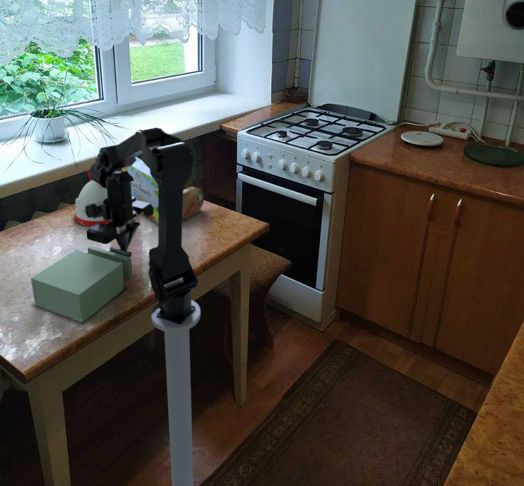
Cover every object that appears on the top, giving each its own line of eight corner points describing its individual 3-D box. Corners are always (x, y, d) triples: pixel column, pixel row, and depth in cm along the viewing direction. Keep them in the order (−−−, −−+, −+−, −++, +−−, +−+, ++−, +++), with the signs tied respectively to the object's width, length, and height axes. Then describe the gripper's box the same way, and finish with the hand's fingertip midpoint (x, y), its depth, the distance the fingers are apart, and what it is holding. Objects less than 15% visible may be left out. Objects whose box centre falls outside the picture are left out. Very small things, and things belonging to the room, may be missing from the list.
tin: (172, 226, 146) (171, 200, 143) (164, 223, 148) (163, 197, 145) (204, 208, 158) (204, 184, 155) (197, 206, 160) (197, 182, 157)
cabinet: (79, 274, 122) (76, 249, 119) (123, 289, 117) (121, 263, 114) (35, 304, 110) (30, 277, 108) (82, 322, 105) (78, 295, 103)
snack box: (123, 202, 160) (119, 159, 155) (138, 198, 164) (135, 155, 158) (159, 226, 146) (157, 179, 141) (175, 220, 150) (173, 174, 144)
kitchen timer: (107, 201, 160) (103, 158, 155) (132, 215, 152) (129, 170, 147) (67, 215, 151) (61, 169, 145) (92, 230, 142) (87, 182, 137)
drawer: (104, 256, 128) (102, 238, 126) (143, 268, 124) (142, 249, 122) (54, 290, 114) (51, 270, 112) (96, 305, 110) (94, 284, 108)
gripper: (118, 175, 131) (123, 228, 136) (65, 202, 115) (72, 260, 121) (153, 183, 126) (156, 237, 132) (102, 212, 111) (108, 272, 116)
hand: (124, 250), depth 125 cm, fingers closed
